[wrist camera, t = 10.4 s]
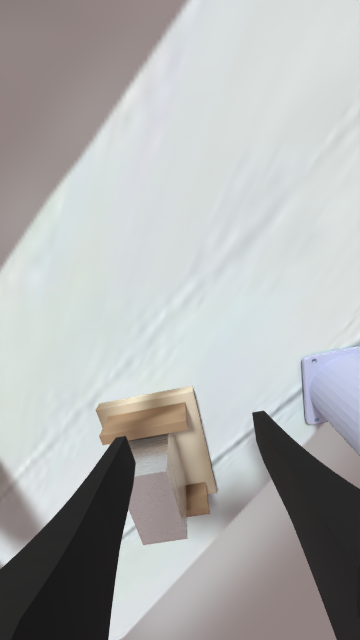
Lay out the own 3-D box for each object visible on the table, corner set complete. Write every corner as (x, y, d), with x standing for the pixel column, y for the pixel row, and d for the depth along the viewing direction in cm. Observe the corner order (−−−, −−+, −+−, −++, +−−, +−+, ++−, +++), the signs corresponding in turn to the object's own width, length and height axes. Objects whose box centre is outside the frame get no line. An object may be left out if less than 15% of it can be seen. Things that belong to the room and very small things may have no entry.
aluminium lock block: (169, 418, 21) (166, 471, 16) (185, 476, 24) (187, 538, 18) (131, 425, 22) (116, 479, 16) (151, 481, 24) (143, 545, 19)
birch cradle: (192, 385, 22) (194, 409, 18) (215, 484, 25) (220, 518, 22) (99, 403, 22) (85, 429, 19) (135, 497, 26) (129, 532, 23)
